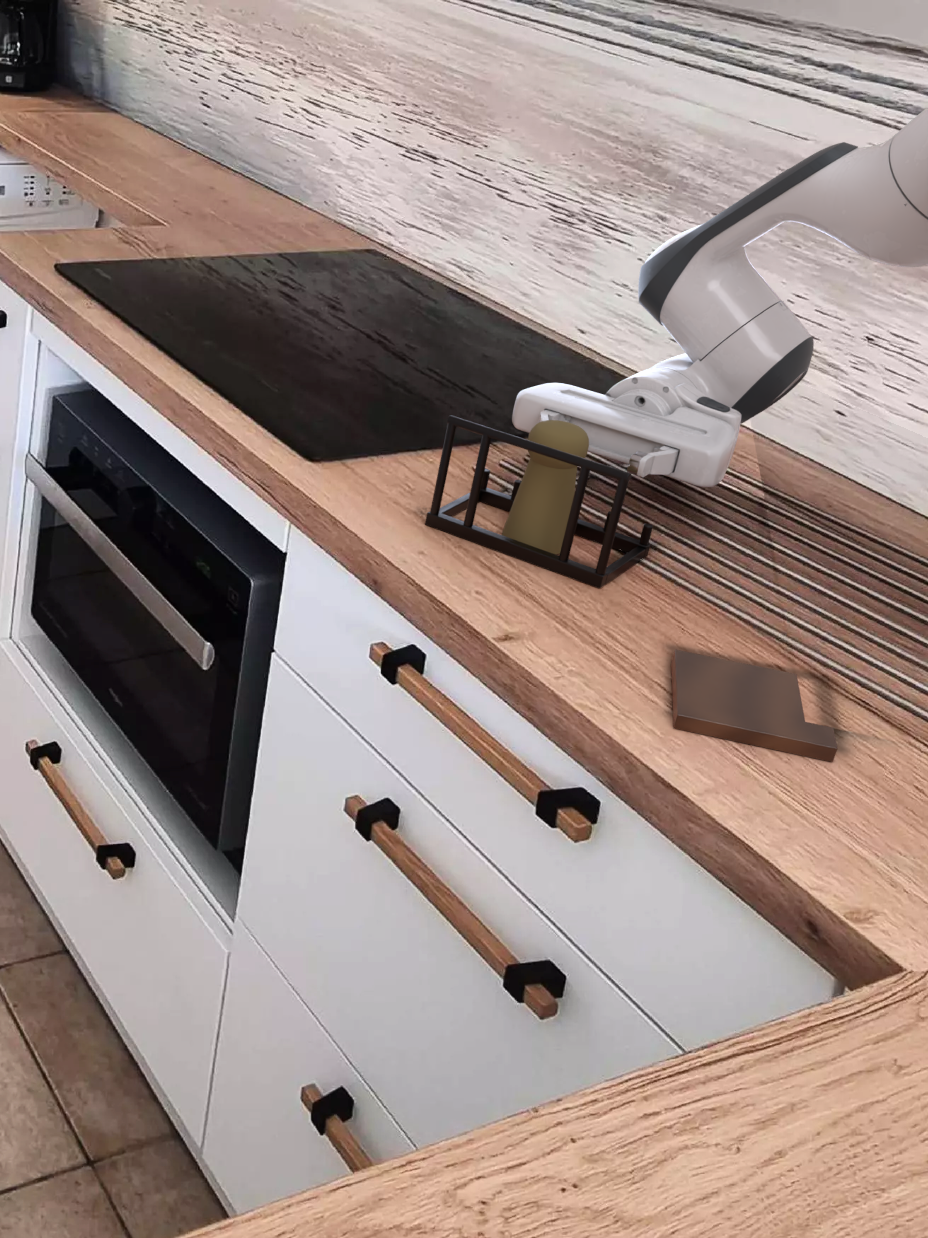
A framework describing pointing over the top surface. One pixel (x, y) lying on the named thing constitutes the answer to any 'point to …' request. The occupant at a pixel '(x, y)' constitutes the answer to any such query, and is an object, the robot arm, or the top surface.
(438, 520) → the dish rack
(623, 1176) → the top surface
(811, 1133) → the top surface
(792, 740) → the walnut board
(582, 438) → the cork
